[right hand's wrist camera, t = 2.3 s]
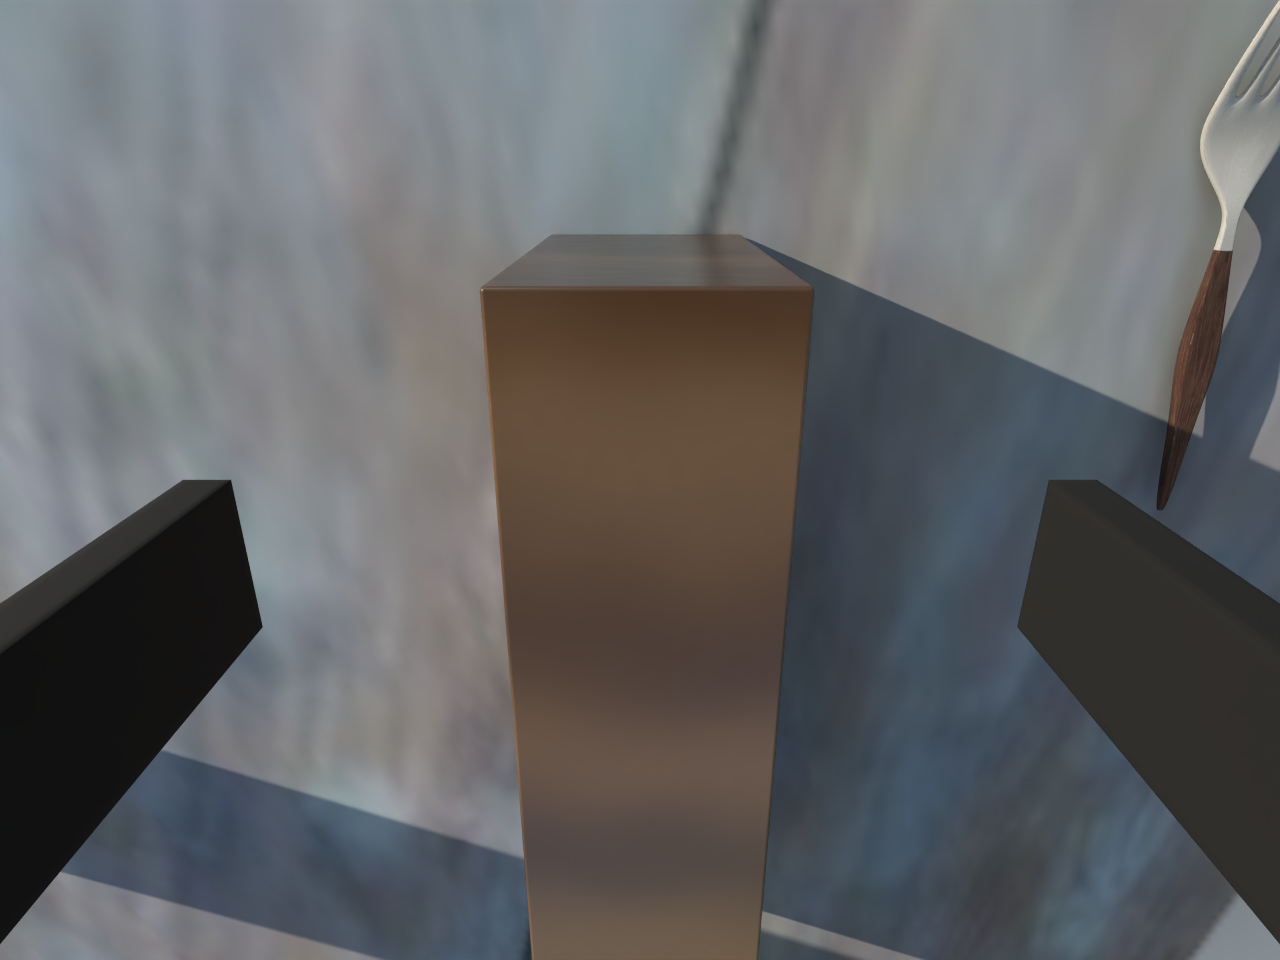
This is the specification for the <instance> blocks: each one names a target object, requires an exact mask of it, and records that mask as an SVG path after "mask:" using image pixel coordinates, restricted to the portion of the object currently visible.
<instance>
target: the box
mask: <svg viewBox="0 0 1280 960" xmlns="http://www.w3.org/2000/svg"><path fill="white" fill-rule="evenodd" d="M814 294H815V290H814V288H813V287H812V286H811V285H809V284H808V283H807V282H805V281H804V280H802V279H801V278H800V277H798V276H797V275H795V274H794V273H793V272H791V271H790V270H788V269H787V268H786V267H784V266H783V265H781V264H780V263H779V262H777V261H776V260H774V259H773V258H772V257H770V256H769V255H767V254H766V253H765V252H763V251H762V250H761V249H759V248H758V247H756V246H755V245H754V244H752V243H751V242H749V241H748V240H747V239H745V238H744V237H742V236H741V235H551V236H549V237H548V238H547V239H545V240H544V241H543V242H541V243H540V244H539V245H537V246H536V247H535V248H533V249H532V250H530V251H529V252H528V253H526V254H525V255H524V256H522V257H521V258H520V259H518V260H517V261H516V262H514V263H513V264H512V265H510V266H509V267H508V268H506V269H505V270H504V271H502V272H501V273H500V274H498V275H497V276H496V277H494V278H493V279H492V280H490V281H489V282H488V283H486V284H485V285H484V286H482V287H481V289H480V299H481V311H482V324H483V337H484V350H485V363H486V375H487V388H488V401H489V414H490V427H491V439H492V452H493V465H494V478H495V491H496V503H497V516H498V529H499V542H500V555H501V567H502V580H503V593H504V606H505V619H506V631H507V644H508V657H509V670H510V683H511V695H512V708H513V721H514V734H515V747H516V759H517V772H518V785H519V798H520V811H521V823H522V836H523V849H524V862H525V875H526V887H527V900H528V913H529V926H530V939H531V952H532V960H758V954H759V942H760V930H761V919H762V907H763V895H764V883H765V871H766V860H767V848H768V836H769V824H770V812H771V801H772V789H773V777H774V765H775V753H776V742H777V730H778V718H779V706H780V694H781V683H782V671H783V659H784V647H785V635H786V624H787V612H788V600H789V588H790V577H791V565H792V553H793V541H794V529H795V518H796V506H797V494H798V482H799V470H800V459H801V447H802V435H803V423H804V411H805V400H806V388H807V376H808V364H809V352H810V341H811V329H812V317H813V305H814Z"/></svg>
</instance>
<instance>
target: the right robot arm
mask: <svg viewBox="0 0 1280 960" xmlns="http://www.w3.org/2000/svg"><path fill="white" fill-rule="evenodd" d="M262 627H263V626H262V622H261V617H260V613H259V608H258V603H257V599H256V594H255V589H254V585H253V580H252V575H251V571H250V566H249V561H248V557H247V552H246V548H245V543H244V538H243V534H242V529H241V524H240V520H239V515H238V510H237V506H236V501H235V497H234V492H233V487H232V483H231V480H182V481H181V482H179V483H178V484H176V485H175V486H173V487H172V488H171V489H169V490H168V491H166V492H165V493H163V494H162V495H160V496H159V497H157V498H156V499H154V500H153V501H151V502H150V503H148V504H147V505H145V506H144V507H142V508H141V509H139V510H138V511H137V512H135V513H134V514H132V515H131V516H129V517H128V518H126V519H125V520H123V521H122V522H120V523H119V524H117V525H116V526H114V527H113V528H111V529H110V530H108V531H107V532H105V533H104V534H102V535H101V536H100V537H98V538H97V539H95V540H94V541H92V542H91V543H89V544H88V545H86V546H85V547H83V548H82V549H80V550H79V551H77V552H76V553H74V554H73V555H71V556H70V557H68V558H67V559H66V560H64V561H63V562H61V563H60V564H58V565H57V566H55V567H54V568H52V569H51V570H49V571H48V572H46V573H45V574H43V575H42V576H40V577H39V578H37V579H36V580H34V581H33V582H32V583H30V584H29V585H27V586H26V587H24V588H23V589H21V590H20V591H18V592H17V593H15V594H14V595H12V596H11V597H9V598H8V599H6V600H5V601H3V602H2V603H0V944H1V942H2V941H3V940H4V939H5V938H6V936H7V935H8V934H9V933H10V932H11V930H12V929H13V928H14V927H15V926H16V924H17V923H18V922H19V921H20V919H21V918H22V917H23V916H24V915H25V913H26V912H27V911H28V910H29V909H30V907H31V906H32V905H33V904H34V903H35V901H36V900H37V899H38V898H39V897H40V895H41V894H42V893H43V892H44V890H45V889H46V888H47V887H48V886H49V884H50V883H51V882H52V881H53V880H54V878H55V877H56V876H57V875H58V874H59V872H60V871H61V870H62V869H63V868H64V866H65V865H66V864H67V863H68V861H69V860H70V859H71V858H72V857H73V855H74V854H75V853H76V852H77V851H78V849H79V848H80V847H81V846H82V845H83V843H84V842H85V841H86V840H87V839H88V837H89V836H90V835H91V834H92V832H93V831H94V830H95V829H96V828H97V826H98V825H99V824H100V823H101V822H102V820H103V819H104V818H105V817H106V816H107V814H108V813H109V812H110V811H111V810H112V808H113V807H114V806H115V805H116V803H117V802H118V801H119V800H120V799H121V797H122V796H123V795H124V794H125V793H126V791H127V790H128V789H129V788H130V787H131V785H132V784H133V783H134V782H135V781H136V779H137V778H138V777H139V776H140V775H141V773H142V772H143V771H144V770H145V768H146V767H147V766H148V765H149V764H150V762H151V761H152V760H153V759H154V758H155V756H156V755H157V754H158V753H159V752H160V750H161V749H162V748H163V747H164V746H165V744H166V743H167V742H168V741H169V739H170V738H171V737H172V736H173V735H174V733H175V732H176V731H177V730H178V729H179V727H180V726H181V725H182V724H183V723H184V721H185V720H186V719H187V718H188V717H189V715H190V714H191V713H192V712H193V710H194V709H195V708H196V707H197V706H198V704H199V703H200V702H201V701H202V700H203V698H204V697H205V696H206V695H207V694H208V692H209V691H210V690H211V689H212V688H213V686H214V685H215V684H216V683H217V681H218V680H219V679H220V678H221V677H222V675H223V674H224V673H225V672H226V671H227V669H228V668H229V667H230V666H231V665H232V663H233V662H234V661H235V660H236V659H237V657H238V656H239V655H240V654H241V652H242V651H243V650H244V649H245V648H246V646H247V645H248V644H249V643H250V642H251V640H252V639H253V638H254V637H255V636H256V634H257V633H258V632H259V631H260V630H261V628H262ZM1017 627H1018V628H1019V630H1020V631H1021V632H1022V633H1023V634H1024V636H1025V637H1026V638H1027V639H1028V640H1029V642H1030V643H1031V644H1032V645H1033V646H1034V648H1035V649H1036V650H1037V651H1038V652H1039V654H1040V655H1041V656H1042V657H1043V659H1044V660H1045V661H1046V662H1047V663H1048V665H1049V666H1050V667H1051V668H1052V669H1053V671H1054V672H1055V673H1056V674H1057V675H1058V677H1059V678H1060V679H1061V680H1062V681H1063V683H1064V684H1065V685H1066V686H1067V688H1068V689H1069V690H1070V691H1071V692H1072V694H1073V695H1074V696H1075V697H1076V698H1077V700H1078V701H1079V702H1080V703H1081V704H1082V706H1083V707H1084V708H1085V709H1086V710H1087V712H1088V713H1089V714H1090V715H1091V717H1092V718H1093V719H1094V720H1095V721H1096V723H1097V724H1098V725H1099V726H1100V727H1101V729H1102V730H1103V731H1104V732H1105V733H1106V735H1107V736H1108V737H1109V738H1110V739H1111V741H1112V742H1113V743H1114V744H1115V746H1116V747H1117V748H1118V749H1119V750H1120V752H1121V753H1122V754H1123V755H1124V756H1125V758H1126V759H1127V760H1128V761H1129V762H1130V764H1131V765H1132V766H1133V767H1134V768H1135V770H1136V771H1137V772H1138V773H1139V775H1140V776H1141V777H1142V778H1143V779H1144V781H1145V782H1146V783H1147V784H1148V785H1149V787H1150V788H1151V789H1152V790H1153V791H1154V793H1155V794H1156V795H1157V796H1158V797H1159V799H1160V800H1161V801H1162V802H1163V803H1164V805H1165V806H1166V807H1167V808H1168V810H1169V811H1170V812H1171V813H1172V814H1173V816H1174V817H1175V818H1176V819H1177V820H1178V822H1179V823H1180V824H1181V825H1182V826H1183V828H1184V829H1185V830H1186V831H1187V832H1188V834H1189V835H1190V836H1191V837H1192V839H1193V840H1194V841H1195V842H1196V843H1197V845H1198V846H1199V847H1200V848H1201V849H1202V851H1203V852H1204V853H1205V854H1206V855H1207V857H1208V858H1209V859H1210V860H1211V861H1212V863H1213V864H1214V865H1215V866H1216V868H1217V869H1218V870H1219V871H1220V872H1221V874H1222V875H1223V876H1224V877H1225V878H1226V880H1227V881H1228V882H1229V883H1230V884H1231V886H1232V887H1233V888H1234V889H1235V890H1236V892H1237V893H1238V894H1239V895H1240V897H1241V898H1242V899H1243V900H1244V901H1245V903H1246V904H1247V905H1248V906H1249V907H1250V909H1251V910H1252V911H1253V912H1254V913H1255V915H1256V916H1257V917H1258V918H1259V919H1260V921H1261V922H1262V923H1263V924H1264V926H1265V927H1266V928H1267V929H1268V930H1269V932H1270V933H1271V934H1272V935H1273V936H1274V938H1275V939H1276V940H1277V941H1278V942H1279V944H1280V603H1278V602H1277V601H1275V600H1274V599H1272V598H1271V597H1269V596H1268V595H1266V594H1265V593H1263V592H1262V591H1260V590H1259V589H1257V588H1256V587H1254V586H1253V585H1251V584H1250V583H1248V582H1247V581H1246V580H1244V579H1243V578H1241V577H1240V576H1238V575H1237V574H1235V573H1234V572H1232V571H1231V570H1229V569H1228V568H1226V567H1225V566H1223V565H1222V564H1220V563H1219V562H1217V561H1216V560H1214V559H1213V558H1212V557H1210V556H1209V555H1207V554H1206V553H1204V552H1203V551H1201V550H1200V549H1198V548H1197V547H1195V546H1194V545H1192V544H1191V543H1189V542H1188V541H1186V540H1185V539H1183V538H1182V537H1180V536H1179V535H1178V534H1176V533H1175V532H1173V531H1172V530H1170V529H1169V528H1167V527H1166V526H1164V525H1163V524H1161V523H1160V522H1158V521H1157V520H1155V519H1154V518H1152V517H1151V516H1149V515H1148V514H1146V513H1145V512H1143V511H1142V510H1141V509H1139V508H1138V507H1136V506H1135V505H1133V504H1132V503H1130V502H1129V501H1127V500H1126V499H1124V498H1123V497H1121V496H1120V495H1118V494H1117V493H1115V492H1114V491H1112V490H1111V489H1109V488H1108V487H1107V486H1105V485H1104V484H1102V483H1101V482H1099V481H1098V480H1049V483H1048V487H1047V492H1046V497H1045V501H1044V506H1043V510H1042V515H1041V520H1040V524H1039V529H1038V534H1037V538H1036V543H1035V548H1034V552H1033V557H1032V561H1031V566H1030V571H1029V575H1028V580H1027V585H1026V589H1025V594H1024V599H1023V603H1022V608H1021V613H1020V617H1019V622H1018V626H1017Z"/></svg>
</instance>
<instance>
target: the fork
mask: <svg viewBox="0 0 1280 960" xmlns="http://www.w3.org/2000/svg"><path fill="white" fill-rule="evenodd" d="M1279 11H1280V0H1279V1H1278V3H1277V4H1276V6H1275V7H1274V9H1273V10H1272V12H1271V13H1270V15H1269V16H1268V18H1267V19H1266V21H1265V22H1264V24H1263V25H1262V27H1261V29H1260V30H1259V32H1258V33H1257V35H1256V36H1255V38H1254V39H1253V41H1252V43H1251V44H1250V46H1249V47H1248V49H1247V50H1246V52H1245V54H1244V55H1243V57H1242V58H1241V60H1240V62H1239V63H1238V65H1237V66H1236V68H1235V70H1234V71H1233V73H1232V75H1231V77H1230V78H1229V80H1228V82H1227V83H1226V85H1225V87H1224V89H1223V90H1222V92H1221V94H1220V96H1219V97H1218V99H1217V101H1216V103H1215V104H1214V106H1213V108H1212V110H1211V112H1210V114H1209V116H1208V118H1207V120H1206V122H1205V125H1204V127H1203V130H1202V134H1201V140H1200V152H1201V158H1202V162H1203V165H1204V168H1205V170H1206V173H1207V175H1208V177H1209V179H1210V181H1211V183H1212V186H1213V188H1214V190H1215V192H1216V194H1217V196H1218V199H1219V201H1220V204H1221V208H1222V224H1221V228H1220V232H1219V236H1218V239H1217V242H1216V245H1215V248H1214V250H1213V253H1212V256H1211V259H1210V262H1209V264H1208V267H1207V270H1206V272H1205V275H1204V278H1203V280H1202V283H1201V286H1200V289H1199V291H1198V294H1197V297H1196V299H1195V302H1194V305H1193V308H1192V310H1191V313H1190V316H1189V319H1188V322H1187V325H1186V328H1185V331H1184V334H1183V337H1182V340H1181V343H1180V347H1179V351H1178V355H1177V359H1176V365H1175V370H1174V377H1173V385H1172V394H1171V402H1170V411H1169V419H1168V427H1167V434H1166V440H1165V447H1164V453H1163V459H1162V465H1161V471H1160V478H1159V486H1158V494H1157V510H1163V508H1164V507H1165V505H1166V503H1167V501H1168V498H1169V496H1170V493H1171V491H1172V488H1173V485H1174V483H1175V480H1176V477H1177V474H1178V472H1179V469H1180V466H1181V463H1182V460H1183V457H1184V454H1185V451H1186V448H1187V445H1188V442H1189V439H1190V436H1191V433H1192V431H1193V428H1194V425H1195V422H1196V419H1197V417H1198V414H1199V411H1200V408H1201V406H1202V403H1203V400H1204V398H1205V395H1206V392H1207V389H1208V386H1209V383H1210V380H1211V377H1212V374H1213V371H1214V368H1215V364H1216V360H1217V356H1218V352H1219V347H1220V341H1221V335H1222V329H1223V321H1224V314H1225V307H1226V299H1227V291H1228V283H1229V275H1230V267H1231V259H1232V252H1233V245H1234V238H1235V233H1236V228H1237V224H1238V220H1239V217H1240V214H1241V211H1242V209H1243V207H1244V205H1245V203H1246V201H1247V199H1248V197H1249V196H1250V194H1251V192H1252V190H1253V189H1254V187H1255V186H1256V184H1257V182H1258V181H1259V179H1260V178H1261V176H1262V175H1263V173H1264V172H1265V170H1266V168H1267V167H1268V165H1269V164H1270V162H1271V160H1272V159H1273V157H1274V155H1275V154H1276V152H1277V150H1278V149H1279V147H1280V74H1279V76H1278V78H1277V79H1276V81H1275V82H1274V83H1273V85H1272V86H1271V88H1270V89H1269V90H1268V92H1267V93H1266V94H1264V95H1263V96H1260V90H1261V88H1262V86H1263V84H1264V82H1265V80H1266V77H1267V76H1268V74H1269V72H1270V70H1271V68H1272V67H1273V65H1274V63H1275V61H1276V60H1277V58H1278V56H1279V54H1280V38H1279V39H1278V41H1277V42H1276V44H1275V45H1274V47H1273V48H1272V50H1271V51H1270V53H1269V54H1268V56H1267V57H1266V59H1265V60H1264V62H1263V64H1262V65H1261V67H1260V68H1259V70H1258V71H1257V73H1256V75H1255V76H1254V78H1253V79H1252V81H1251V82H1250V84H1249V85H1248V87H1247V88H1246V89H1245V91H1244V92H1243V93H1242V94H1241V95H1240V96H1238V97H1236V91H1237V88H1238V86H1239V84H1240V82H1241V79H1242V77H1243V75H1244V74H1245V72H1246V70H1247V68H1248V66H1249V64H1250V62H1251V61H1252V59H1253V57H1254V55H1255V53H1256V51H1257V50H1258V48H1259V46H1260V44H1261V42H1262V41H1263V39H1264V37H1265V35H1266V33H1267V32H1268V30H1269V28H1270V26H1271V25H1272V23H1273V21H1274V19H1275V18H1276V16H1277V14H1278V12H1279Z"/></svg>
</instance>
